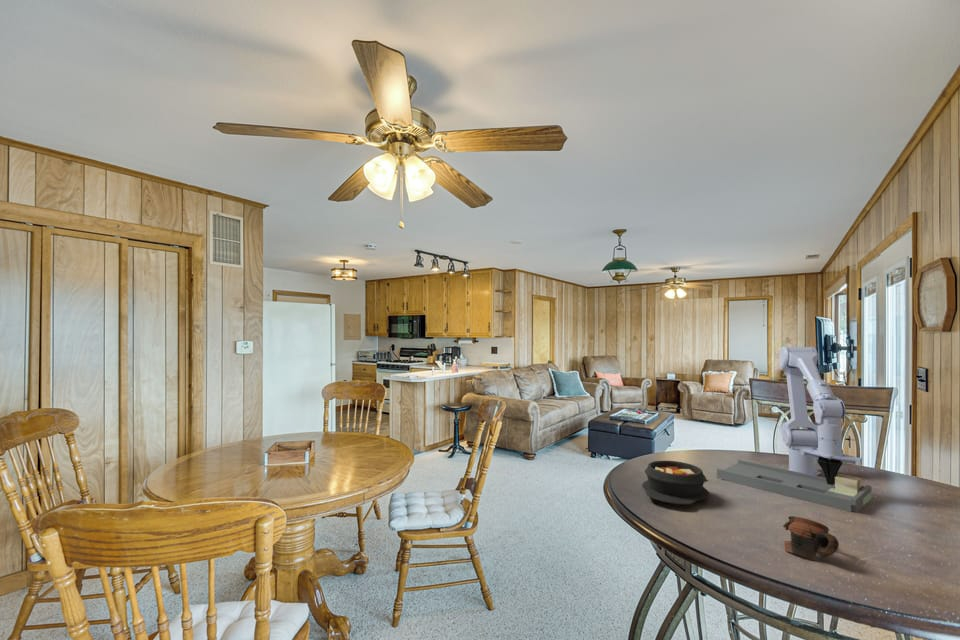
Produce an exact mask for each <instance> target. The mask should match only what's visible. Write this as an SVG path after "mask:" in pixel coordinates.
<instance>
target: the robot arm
mask: <svg viewBox="0 0 960 640" xmlns="http://www.w3.org/2000/svg"><path fill="white" fill-rule="evenodd" d="M778 359H779V366H780V371H783V372H785V377H786V383H787V393H788V401H789V409H790V410H789V412H790V419H788V420H787V421H785V422H784V423H783V424H782V433H781V436H782V441H783V443H784V445H785V446H787V447H788V469H787V470H791V471H795V472H800V473H805V474H809V475H814V476H819V475H820V474H821V473H822V472H823V474H824V478H826V481H827V484H830V485H834V484H835V477H836V476H837V475H838V472H839V470H840V469H841V467H842V465H843V463H846V464H850V465H855V466H859V467H861V466H863V458H861V457H857V456H853V455H848V454H844V453H843V443H842V442H843V437H842V436H843V435H842V419H844V418H845V416H846V406H845V404H844V402H843V400H842V399H841V398H839V397H838V396H835V395H834V393H833V390H832V388H831V387H830V384H829V383H828V382H827V381H826V380H824V379H822V377H821V374H820V372H819V370H818V369H819V368H818V366H817V363H818V360H819V355H818V351H817V349H816V348H815V347H814V346H782V347H781V348H780V350H779V353H778ZM804 378H805V379H806V381H807V382H808V383H807V385H806V390H807V392H808V394H809V396H810V398H811V400H812V402H813V404H812V410H813V411H812V412H813V414H814V417H815V418H814V420H815V423H817V425H816V424H815V423H814V422H812V421H811V420H810V419H809V414H808V406H807V405H808V404H807V397H806V390H805V380H804ZM818 465H819V467H820V468H821V470H822V472H821V471H818Z"/></svg>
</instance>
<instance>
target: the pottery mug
mask: <svg viewBox="0 0 960 640" xmlns="http://www.w3.org/2000/svg"><path fill="white" fill-rule="evenodd" d="M787 518H788V521H787V522H785V523H784V524H783V525H782V527H783V528H784V530H785V531H789V532H790V539H791V540H790V541H789V540H784V541H783V542H784V543H783V544H784V551H785V552H787V553H791V554H794V555H797V556H799V557H801V558H804V559H808V560H811V561H814V562H815V561H816V556H817V553H818V555H819V557H821V558H822V559H827V558H828V557H829V556H831V555H834V554H835V553H836V552H837V551H838V549H839V545H840V544H839V541H838V539H837V537H836V536H835V535H832V534H831V533H829V532H830V528H829V527H828V526H826V525H825V524H822V523H821V522H818V521H815V520H811V519H808V518H804V517H800V516H794V515H793V516H792V515H791V516H788V517H787Z"/></svg>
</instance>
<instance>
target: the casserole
mask: <svg viewBox="0 0 960 640" xmlns="http://www.w3.org/2000/svg"><path fill="white" fill-rule="evenodd" d="M644 473H645V475H646V477H647V480H645V481H643V482H642V484H641V487H642V488H643V490H644V491H645V492H646V496H648V497H649V498H650V499H653V500H655V501H658V502H662V503H666V504H670V505H671V504H672V505H681V506H689V505H692V504H694V503H696V502H699V501H702V500H703V501H704V500H706V499H707V498H709V497H710V495H711V494H710V492H709V490H708V489H706V488H705V486H704V483H705V482H706V481H707V476H706V475H704V472H703V470H702V469H701V468H700V467H699V466H696V465H694V464H690V463H688V462H682V461H674V460H654V461H651V462H649V463H648V464H647V467H646V469H644Z"/></svg>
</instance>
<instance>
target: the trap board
mask: <svg viewBox="0 0 960 640" xmlns="http://www.w3.org/2000/svg"><path fill="white" fill-rule="evenodd" d="M737 461H738V462H737V463H735V464H733V465H730V466H728V467H726V468H723V469H721V468H717V469H716V478H717V479H718V478H721V479H720V480H722V479H724V480H723V481H726V480H728V481H727V482H730V481H732V483H734V482H735V484H738V483H739V485H743V486H746V487H751V488H755V489H759V490H761V491H765V492H766V491H767V492H771V493H775V494H777V495H782V496H787V497H791V498H794V499H798V500H803V501H806V502H809V503H814V504H819V505H821V506H826V507H830V508H834V509H836V510H837V509H838V510H841V511H846V512H849V513H852V512H854V513H858V512H859V510H861V509H862V508H863V507H864V506H865V505H866V504H867V503H868V502H870V500H871V499H872V498H873V497H872V496H873V493H872V485H869V484H866V485H862V490H861V491H859V492H858V493H857V494H856V495H852V494H847V493H843V492H838V491H835V484H834V485H830V484H827V481H826V478H825V476H819V475H817V476H814V475H809V474H805V473H800V472H795V471H791V470H788V469H785V468H780V467H776V466H771V465H765V464H761V463H756V462H752V461H748V460H742V459H738V460H737Z"/></svg>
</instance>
